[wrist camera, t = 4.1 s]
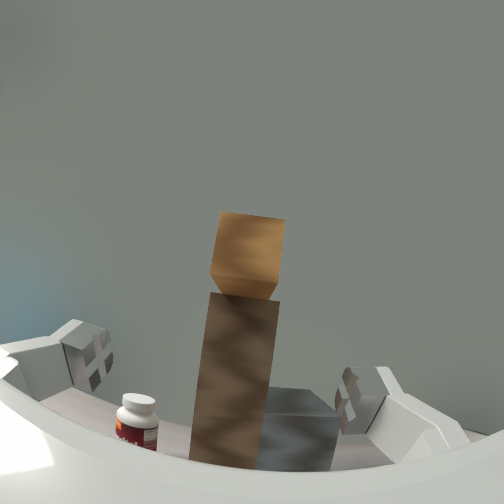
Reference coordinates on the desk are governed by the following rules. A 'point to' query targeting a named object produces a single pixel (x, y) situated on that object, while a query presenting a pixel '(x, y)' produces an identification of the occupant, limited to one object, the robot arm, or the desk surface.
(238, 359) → the stepped stand
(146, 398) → the pill bottle
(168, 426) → the desk surface
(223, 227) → the brown block
